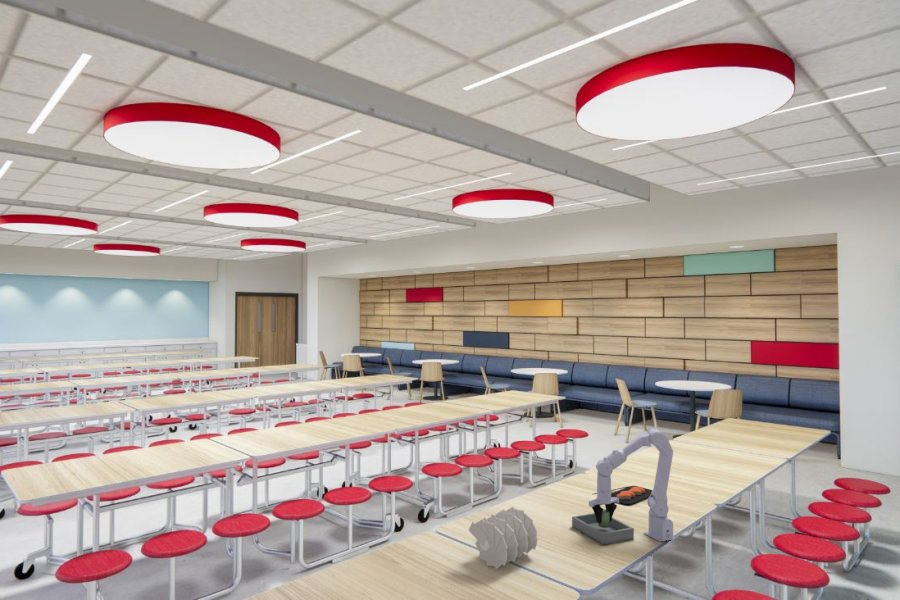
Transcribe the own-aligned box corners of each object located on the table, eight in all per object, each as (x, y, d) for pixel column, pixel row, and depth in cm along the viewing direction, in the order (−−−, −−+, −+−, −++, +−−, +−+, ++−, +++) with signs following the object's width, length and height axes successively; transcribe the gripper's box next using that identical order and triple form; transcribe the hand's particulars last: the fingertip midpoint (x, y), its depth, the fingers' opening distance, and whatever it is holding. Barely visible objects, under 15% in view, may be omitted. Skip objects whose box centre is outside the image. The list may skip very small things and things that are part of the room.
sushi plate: (628, 508, 258) (628, 500, 258) (576, 492, 280) (576, 484, 280) (658, 495, 277) (658, 488, 277) (607, 481, 299) (607, 474, 300)
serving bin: (633, 539, 220) (633, 528, 220) (602, 545, 214) (602, 534, 214) (601, 521, 238) (601, 511, 239) (572, 527, 232) (572, 516, 232)
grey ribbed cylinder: (532, 563, 206) (492, 583, 188) (500, 531, 218) (459, 547, 200) (551, 525, 202) (512, 541, 184) (517, 494, 213) (477, 507, 195)
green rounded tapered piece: (611, 526, 225) (611, 512, 226) (602, 528, 224) (602, 513, 224) (604, 522, 230) (604, 508, 230) (595, 524, 228) (595, 509, 228)
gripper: (611, 484, 234) (611, 516, 233) (584, 488, 228) (584, 520, 227) (622, 489, 227) (622, 521, 227) (594, 493, 221) (594, 526, 221)
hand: (603, 521), depth 227 cm, fingers closed on green rounded tapered piece, 5 cm apart
